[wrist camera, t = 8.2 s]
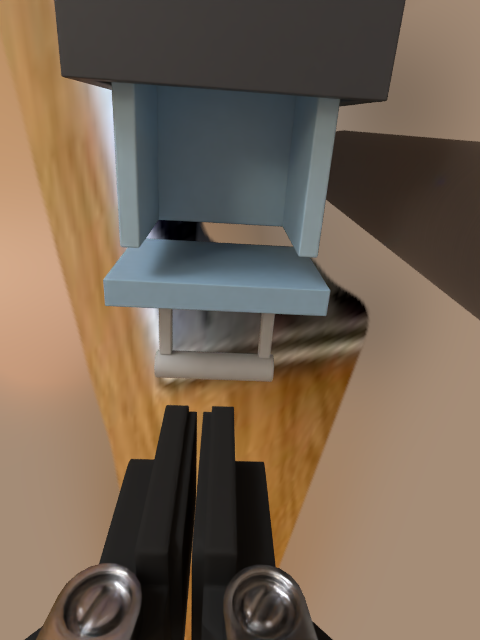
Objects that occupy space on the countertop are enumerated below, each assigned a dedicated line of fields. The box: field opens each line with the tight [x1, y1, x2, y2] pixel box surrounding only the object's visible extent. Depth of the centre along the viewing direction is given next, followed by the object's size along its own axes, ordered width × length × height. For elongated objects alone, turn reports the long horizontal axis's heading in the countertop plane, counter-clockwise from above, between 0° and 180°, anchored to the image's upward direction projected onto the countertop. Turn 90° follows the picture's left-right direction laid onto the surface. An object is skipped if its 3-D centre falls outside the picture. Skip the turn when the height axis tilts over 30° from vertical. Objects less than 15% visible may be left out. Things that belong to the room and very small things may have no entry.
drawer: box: [103, 82, 340, 382], centre depth 20 cm, size 15×9×7 cm, turn 176°
